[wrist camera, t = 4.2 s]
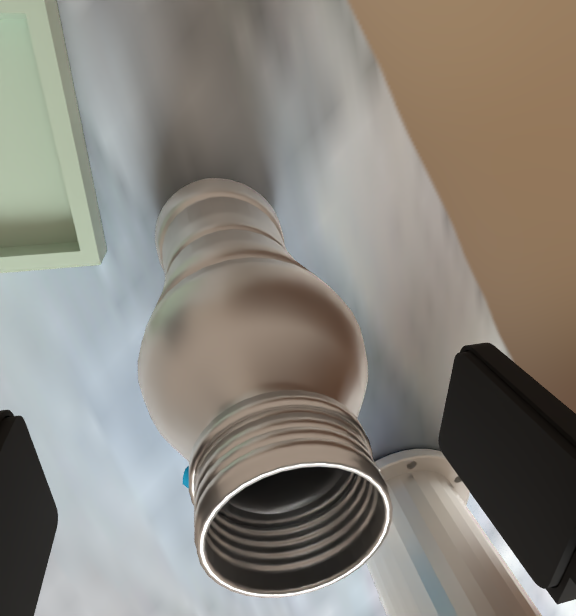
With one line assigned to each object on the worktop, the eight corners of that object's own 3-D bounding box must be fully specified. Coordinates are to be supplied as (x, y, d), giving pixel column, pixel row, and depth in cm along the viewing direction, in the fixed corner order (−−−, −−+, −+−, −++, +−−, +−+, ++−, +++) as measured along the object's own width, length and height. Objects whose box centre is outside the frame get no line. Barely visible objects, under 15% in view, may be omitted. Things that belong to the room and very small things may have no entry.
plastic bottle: (194, 144, 23) (235, 310, 6) (295, 213, 26) (531, 465, 8) (135, 245, 25) (26, 614, 7) (236, 299, 28) (333, 661, 10)
